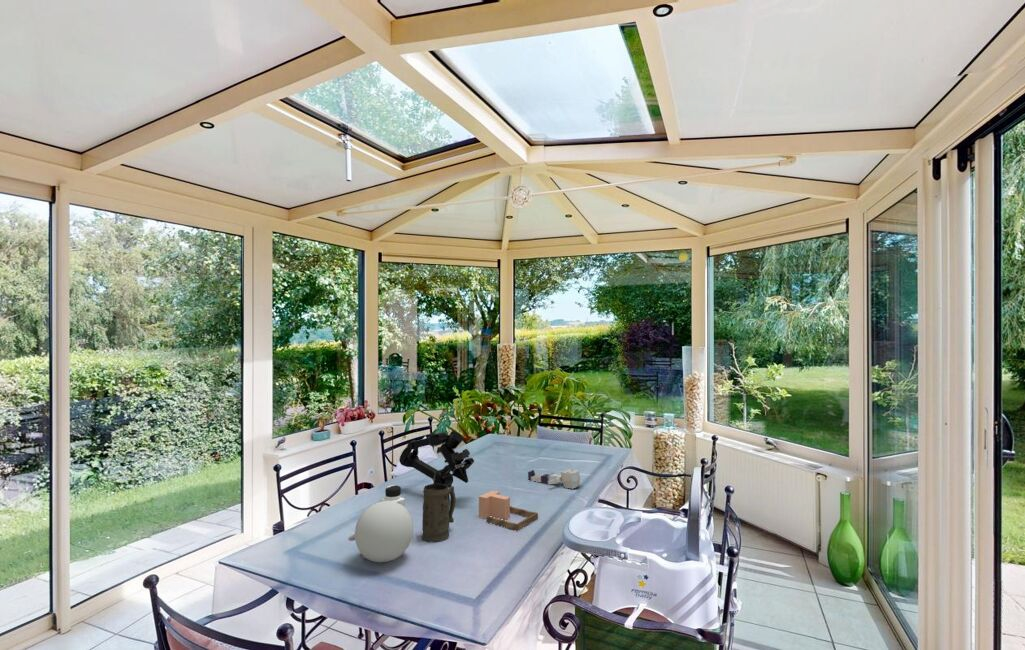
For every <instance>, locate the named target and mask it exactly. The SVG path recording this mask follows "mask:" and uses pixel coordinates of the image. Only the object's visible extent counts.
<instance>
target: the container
mask: <svg viewBox="0 0 1025 650" xmlns="http://www.w3.org/2000/svg"><path fill="white" fill-rule="evenodd" d="M401 489H402V487H401V486H399V485H396V484H395V485H394V484H392V485H388V486H386V487H385V492H384V493H385V497H384V498H381V499H380V502H383V501H392V502H396V503H399V504H401V505H403V506H404V507H405V508H406V498H404V497H401V495H402V493H401V491H402V490H401Z"/></svg>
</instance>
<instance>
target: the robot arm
mask: <svg viewBox="0 0 1025 650" xmlns="http://www.w3.org/2000/svg"><path fill="white" fill-rule="evenodd" d="M463 441H464V436H463V435H462V434H461V433H459V432H456V430H454V429H453V430H451V432H450V433H449V434H447V433H446V432H445V431H439V432H436V433H432V434H431V435H429V436H428V437H426V438H421V439H418V440H416V439H415V440H411V441H409V442H408V443H407V445H406V447H405V448H404V449H403V451H402V452H401V454H400V456H399V463H400V465H401V466H403V467H406V468H413V469H414V470H416V471H418V472H420V473H421V474H423V475H425V476H426V477H428V478H430V479H431V480H432V481H433V483H432V484H445V485H447V486H448V489H449V487H450V486H453V482H454V478H457V479H459V480H460V481H462V482H464V483H465V484H466V483H469V478H468V475H467V474H468V473H467V470H468V469H470V467H471V466H472V465H473V464H474V463H475V460H474V458H473V457H470V454H471V453H470V451H469V449H468V448H465V449H463V450H462V451H461V452H458V451H456V450H455V449H457V448H458V447H459V446H460V444H461V443H462V442H463ZM426 446H434V447H436V446H438V447H437V450H436V454H440V453H441V455H442V457H443V458H444V463H445V464H447V465H445V466H444V467H442V469H436V468H435V467H433V466H431V465H430V464H428V463H426V462H424V461H423V460H422V459H420V458H419V448H422V447H426ZM464 459H465V460H464ZM451 472H452V473H451ZM448 501H449V502H450V494H448Z"/></svg>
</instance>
